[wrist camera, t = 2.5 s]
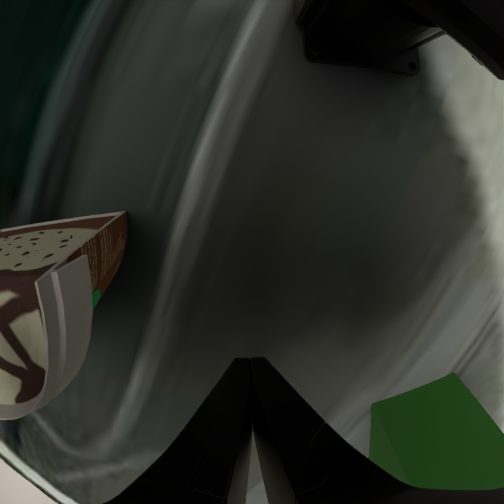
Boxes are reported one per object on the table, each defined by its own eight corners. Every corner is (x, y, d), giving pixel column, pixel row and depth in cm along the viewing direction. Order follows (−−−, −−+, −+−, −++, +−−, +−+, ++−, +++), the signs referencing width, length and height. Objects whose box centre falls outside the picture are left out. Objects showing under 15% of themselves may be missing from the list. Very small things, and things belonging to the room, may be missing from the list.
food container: (10, 316, 18) (-74, 399, 8) (-13, 231, 16) (-122, 287, 6) (169, 315, 18) (121, 454, 8) (153, 207, 16) (53, 281, 6)
